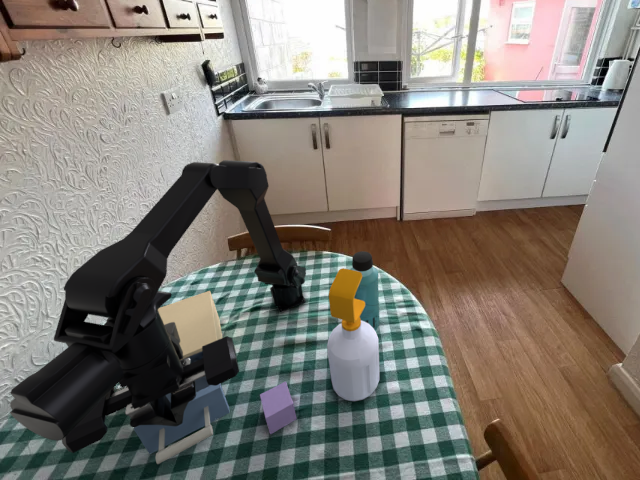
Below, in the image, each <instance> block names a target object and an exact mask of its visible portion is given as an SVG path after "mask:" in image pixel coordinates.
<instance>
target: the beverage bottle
mask: <svg viewBox="0 0 640 480" xmlns="http://www.w3.org/2000/svg"><path fill="white" fill-rule="evenodd" d="M351 266H352V268H350V269H349V270H354V271H358V272H361V273H362V279H361V281H360V284H359V286H358V288H357V291H356V293H355V297H354V299H358V300H362V301H364V302H365V307H364V309H363V311H362V313H361V315H360V319H361V320H362V321H364V322H366V323H369V324H370V325H371V326H372V327H373V328H374V330H375V332H377V330H378V328H379V325H380V314H381V311H380V310H381V309H380V308H381V306H380V299H379V271H378V269H377V268H376V267H374V261H373V256H372V254H371V253H370V252H368V251H365V250H364V251H362V250H361V251H357V252H355V253H354V254H353V255H352V260H351Z"/></svg>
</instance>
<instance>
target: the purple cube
mask: <svg viewBox="0 0 640 480" xmlns="http://www.w3.org/2000/svg"><path fill="white" fill-rule="evenodd" d="M259 398H260V401H261V406H262V411H263V413H264V418H265V422H266V425H267V428H268V432H269V434H270V435H273V434H274V433H275V432H277V431H279V430H280V429H282V428H285V427H286V426H288V425H289V424H292V423H293V422H294V421H297V414H296V409H295V405H294V402H293V398H292V395H291V393H290V389H289V387H288V383H287V381H283V382H282V383H279V384H277V385H275V386H273V387H272V388H270V389H268V390H266V391H263V392H262V393H260V394H259Z"/></svg>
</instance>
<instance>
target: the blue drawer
mask: <svg viewBox="0 0 640 480" xmlns="http://www.w3.org/2000/svg"><path fill="white" fill-rule="evenodd" d="M187 358H190V360H191V363H193V362H195V361H198V360H200V359H202V358H203V351H201V352H199V353H197V354H194V355H192V356H189V357H187ZM187 358H185V359H187ZM182 360H184V359H182ZM182 360H180V361H182ZM195 383H196V397H195V398H194V399H193V400H192V401H190V402H188V404H187V406H186V409H185V411H184V415H183V423H182V424H181V425H179V426H177V427H174V426H165V425H140V426H137V427H135V428H133V430H134V432H135V434H136V435H137V437H138V438H139V440H140V442H141V443H142V445H143V447H144V448H145V450H146V452H147V453H148V454H149V455H151V454H153V453H155V452H156V453H155V462H156V464H157V465H160V464H161V463H164V462H165V461H167V460H169V459H171V458H173V457H174V456H176V455H178V454H180V453H182V452H184V451H185V450H188V449H189V448H191V447H193V446H195V445H197V444H199V443H201V442H203V441H204V440H207V439H208V438H210V437H212V436H213V435H214V429H213V425H212V424H211V423H213V422H215V421H217V420H218V419H221V418H223V417H224V416H227V415H228V414H230V406H229V404H228V403H229V402H228V400H227V398H226V395H225V393H224V390H223V387H222V383H221V384H218V385H216V386H215V385H208V383H207V380H206V376H204V377H202V378H200V379H197V380H195ZM166 397H167V398H168V400H169V401H170V403H171V393H169V394H167V395H166ZM203 427H204V428H203ZM199 429H200V430H199ZM197 430H198V431H197ZM195 431H196V432H195ZM188 435H189V436H188ZM176 441H177V442H176ZM174 442H175V443H174ZM172 443H173V444H172ZM168 445H169V446H168ZM166 446H167V447H166Z"/></svg>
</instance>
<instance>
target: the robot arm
mask: <svg viewBox="0 0 640 480" xmlns="http://www.w3.org/2000/svg"><path fill="white" fill-rule="evenodd" d="M268 181H269V180H268V173H267V171H266V168H265V166H264V165H263V164H262V163H260V162H257V161H250V160H249V161H248V160H247V161H246V160H232V159H231V160H229V159H225V160H222V161H220V162H219V163H216V162H201V161H200V162H198V161H193V162H190V163H187V164H186V165H185V166H184V167H183V168H182V171H181V174H180V176H179V177H178V178H177V179H176V180H175V181H174V183H173V184H172V185H171V186H170V188H168V190H167V191H166V192H165V193H164V194H163V195H162V196H161V197H160V198H159V200H158V201H157V202H156V203H155V204H154V206H152V208H150V210H149V211H148V212H147V213H146V215H145V216H144V217H143V218H142V219H141V220H140V221H139V222H138V224H137V225H136V226H135V227H134V228H133V229H132V230H131V231H130V232H129V233H128V234H127V235H126V236H125V237H124V238H122V239H120V240H119V241H115V242H114V243H112V244H110V245H108V246H106V247H104V248H102V249H100V250H99V251H98V252H96V253H95V254H94V255H92V256H91V257H90V258H89V259H88V260H87V261H86V262H84V263H83V264H82V265H81V266H79V267H78V268H77V269H75V270H74V272H72V274H71V275H70V276H69V278H68V279H67V280H66V282H65V284H64V287H63V291H64V292H65V293H64V295H65V296H64V301H63V305H62V309H61V312H60V316H59V319H58V323H57V325H56V330H55V333H54V336H53V341H55V342H58V343H62V344H66V348H65V349H64V350H62V351H61V353H58V354H57V355H56V356H55V357H54V358H53V359H51V360H50V361H49V362H47V363H46V364H45V365H43V366H42V367H41V368H40V369H38V370H37V371H36V372H34V373H32V374H31V375H28V376H27V377H26V378H25V379H23V380H22V381H21V382H19V383H18V384H16V385H15V386H14V387H13V388H12V389H11V390H10V393H9V394H10V395H11V396H12V397H13V399H12V400H11V401H10V403H9V406H10V409H11V411H10V412H9V414H10V416H12V418H14V420H16V421H17V423H19V424H20V425H22V426H23V427H24V428H26V429H27V430H29V431H31V433H34V434H36V435H38V436H40V437H41V438H44V439H47V440H50V441H57V442H58V441H61V444H62V446H63V447H64V448H65V449H66V450H67V452H69V453H73V454H74V453H76V452H79V451H81V450H83V449H85V448H88V447H89V446H91V445H93V444H96V443H98V442H100V441H101V440H103V439H104V437H105V436H106V435H107V433H108V428H109V427H108V426H107V424H106V419H107V417H108V416H110V415H112V414H114V413H117V412H119V411H121V410H124V409H125V412H124V413H125V415H126V416H127V417H128V416H129V418H130V421H129V426H130V427H131V428H133V429H134V428H135V427H137V426H140V425H165V426H174V427H177V426H179V425H181V424H182V423H183V415H184V411H185V409H186V406H187V404H188V402H190V401H192V400H193V399H194V398H195V397H196V383H195V380H197V379H200V378H202V377H204V376H206V380H207V383H208V385H215V386H216V385H218V384H221V385H222V384H223V383H225V382H227V381H229V380H231V379H233V378H235V377H237V375H238V374H239V372H240V368H239V362H238V357H237V352H236V347H235V346H236V345H235V343H234V340H233V338H232V337H230V336H227V335H226V336H224V337H222V338H221V339H219V340H216V341H214V342H212V343H209V344H207V345H204V346H202V351H203V358H202V359H200V360H198V361H195V362H193V363H191V360H190V358H187V359H184V360H182V361H180V360H181V359H183V351H182V349H181V346H180V344H179V343H180V337H179V334H178V331H177V328H176V324H175V322H171V323H168V324H165V325H164V323H163V321H162V318H161V316H160V314H159V311H158V309H159V308H160V307H163V305H164V304H165V303H166V302H168V301H169V300H170V299H171V298H172V296H173V295H172V293H171V292H169V291H168V292H167V291H162V290H159V289H160V288H161V286H162V284H163V282H164V280H165V279H166V277H167V274H168V272H167V271H168V258H169V257H170V254H171V252H172V251H173V249H174V248H176V246H177V244H178V243H179V241H181V239H182V238H183V236H184V234H185V233H186V232H187V231H188V229H189V228H190V226H192V224H193V222H194V221H195V220H196V218H197V217H198V216H199V214H200V213H201V212H202V211H203V209H204V208H205V206H206V205H207V204H208V202H209V201H210V199H211V198H212V197H213V196H214V194H215V193H216V191H218V193H219V194H220V195H221V196H222V198H223V199H224V200H226V201H227V202H229V203H230V204H231V205H233V206H234V207H235V208H237V210H238V212H239V215H240V216H241V218H242V221H243V223H244V225H245V227H246V230H247V232H248V234H249V237H250V238H251V242H252V243H253V246H254V248H255V250H256V252H257V254H258V257H259V260H258V263H257V265H256V268H255V269H254V274H255V275H256V277H257V282H259V283H260V282H261V283H263V284H264V285H271V286H270V288H269V289H270V294H271V299H272V302H273V305H274V307H275V308H276V307H277V308H276V309H277V310H278V312H279V313H283V312H286V311H288V310H291V309H293V308H296V307H298V306H301V305H303V304H305V303H306V298H305V296H304V292H303V284H306V280H305V278H306V276H307V268H306V267H304V266H300V265H298V262H297V260H296V259H295V257H294V256H293V254H291V253H290V252H288V251H287V250H286V249H284V248H283V245H282V242H281V240H280V237H279V234H278V232H277V229H276V227H275V224H274V221H273V219H272V216H271V213H270V211H269V208H268V206H267V203H266V199H265V197H266V195H267V193H268V189H269V182H268ZM88 316H95V317H101V318H106V320H105V323H104V324H101V323H100V324H99V323H95V322H90V321H86V320H87V318H88ZM118 384H119V386H120V388H121V389H120V390H117V391H115V390H116V388H115V387H116V386H117V385H118ZM169 393H171V403H170V401H169V400H168V398H167V397H166V395H167V394H169Z"/></svg>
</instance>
